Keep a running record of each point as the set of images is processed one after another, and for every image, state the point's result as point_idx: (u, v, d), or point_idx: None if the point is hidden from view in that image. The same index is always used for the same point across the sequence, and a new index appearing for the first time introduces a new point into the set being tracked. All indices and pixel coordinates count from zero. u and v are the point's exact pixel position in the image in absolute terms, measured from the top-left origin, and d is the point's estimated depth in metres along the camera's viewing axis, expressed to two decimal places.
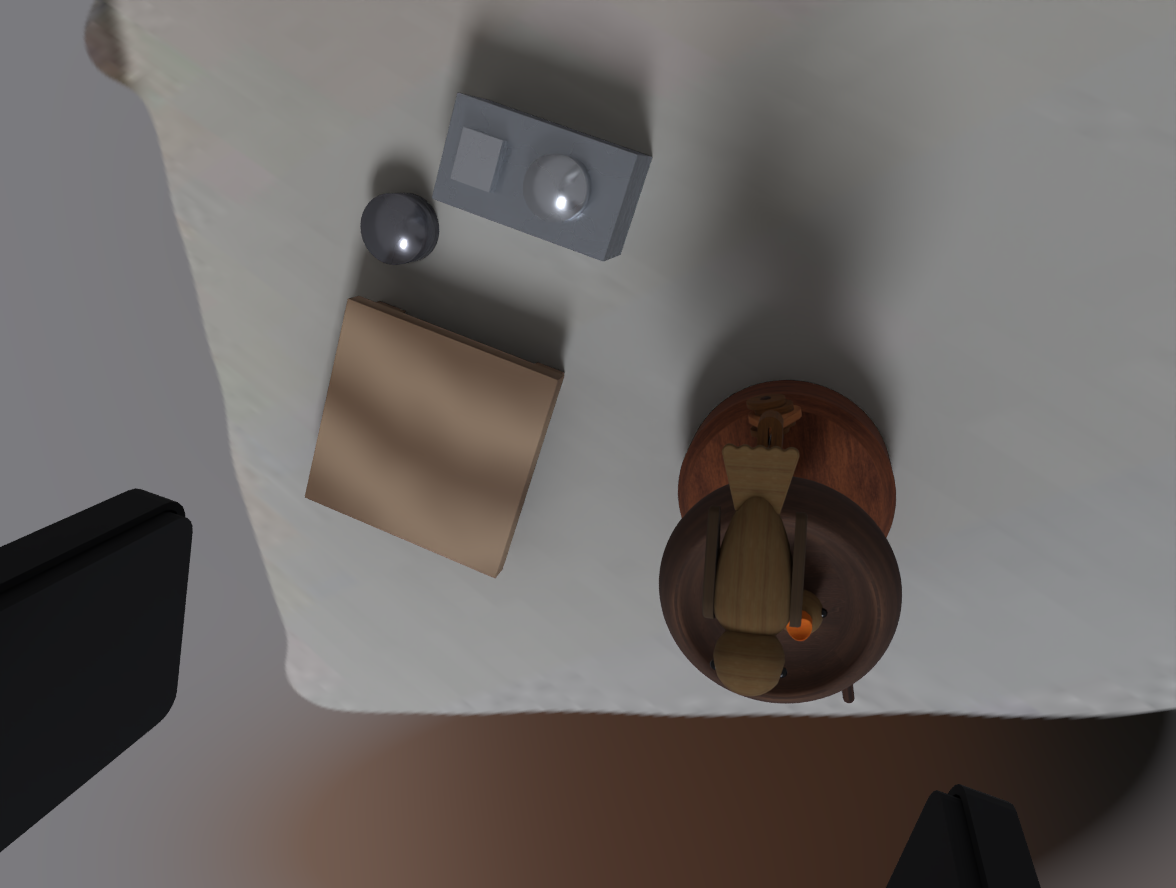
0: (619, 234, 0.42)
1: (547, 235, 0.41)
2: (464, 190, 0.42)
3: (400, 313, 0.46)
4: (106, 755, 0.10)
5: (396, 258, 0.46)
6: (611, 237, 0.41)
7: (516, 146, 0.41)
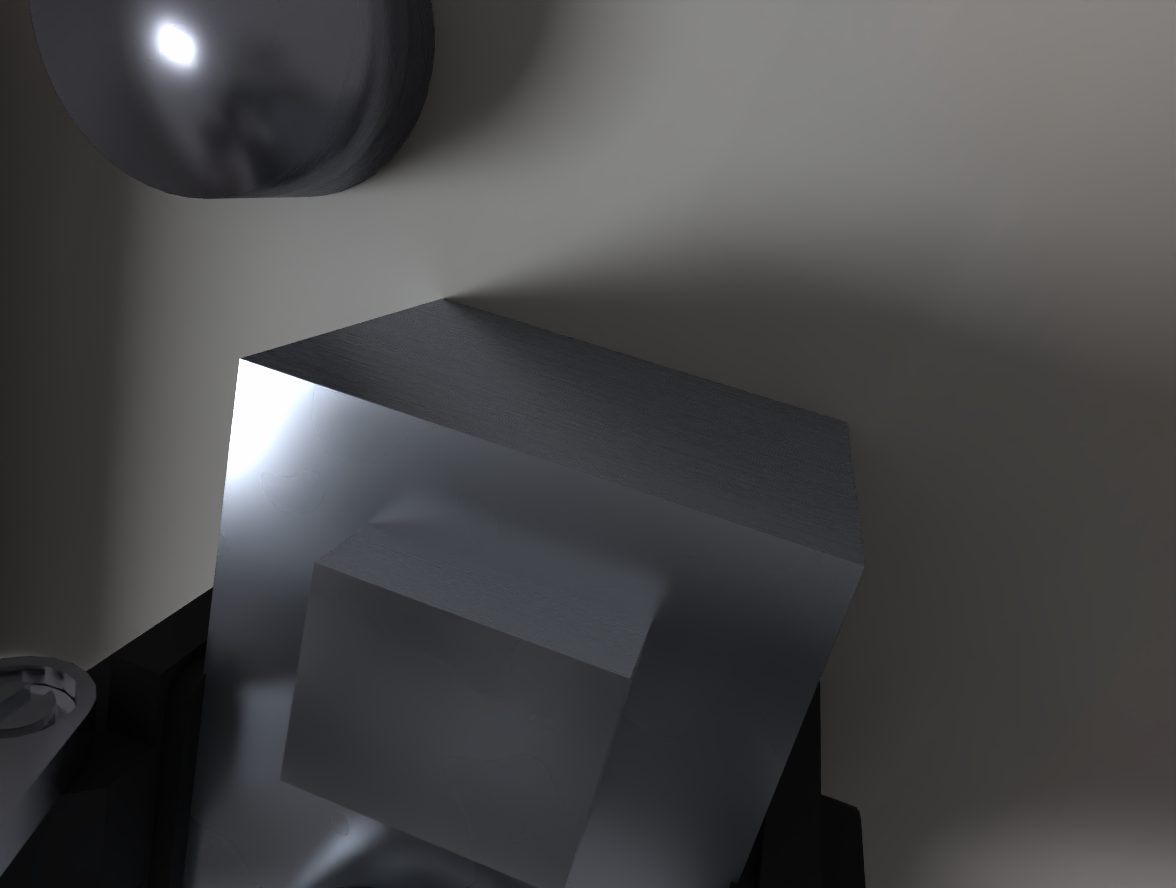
0: None
1: None
2: (312, 559, 0.07)
3: None
4: None
5: (64, 41, 0.09)
6: None
7: None
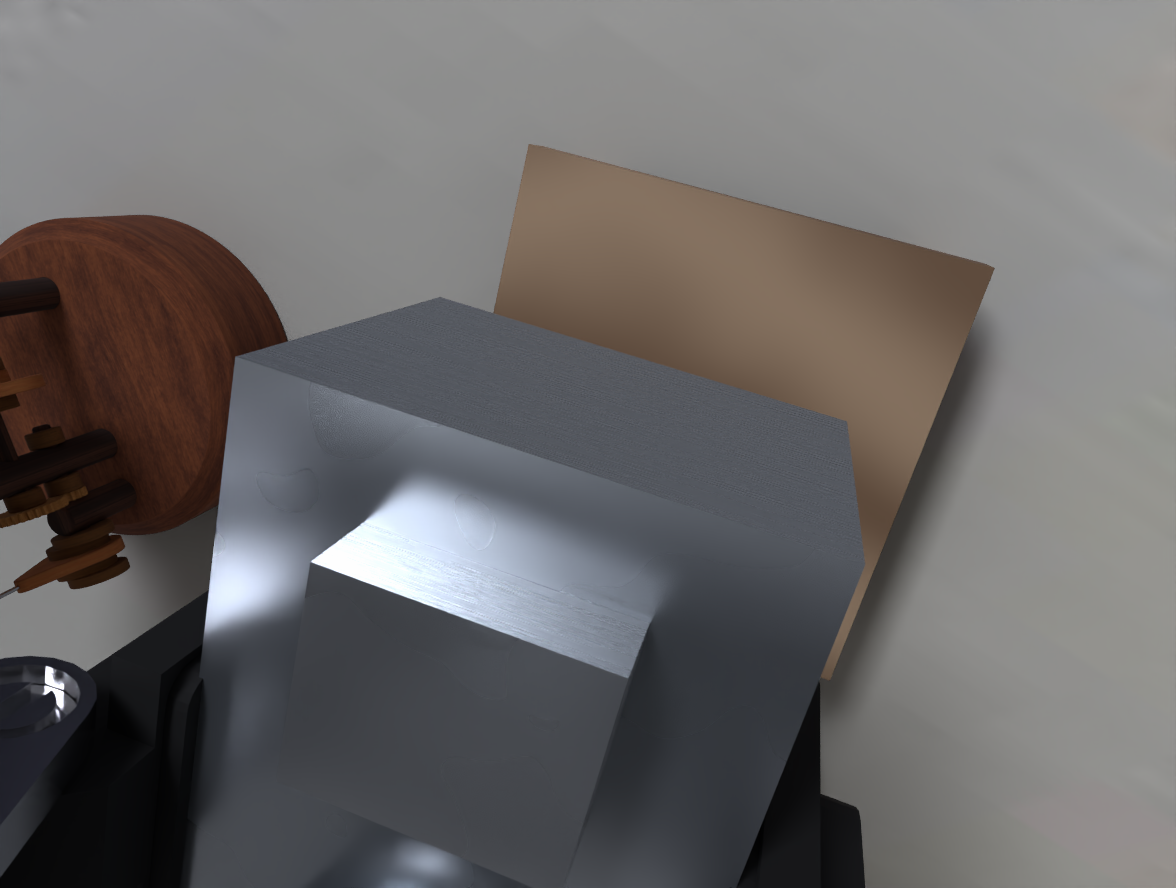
0: None
1: None
2: (309, 559, 0.07)
3: None
4: None
5: None
6: None
7: None
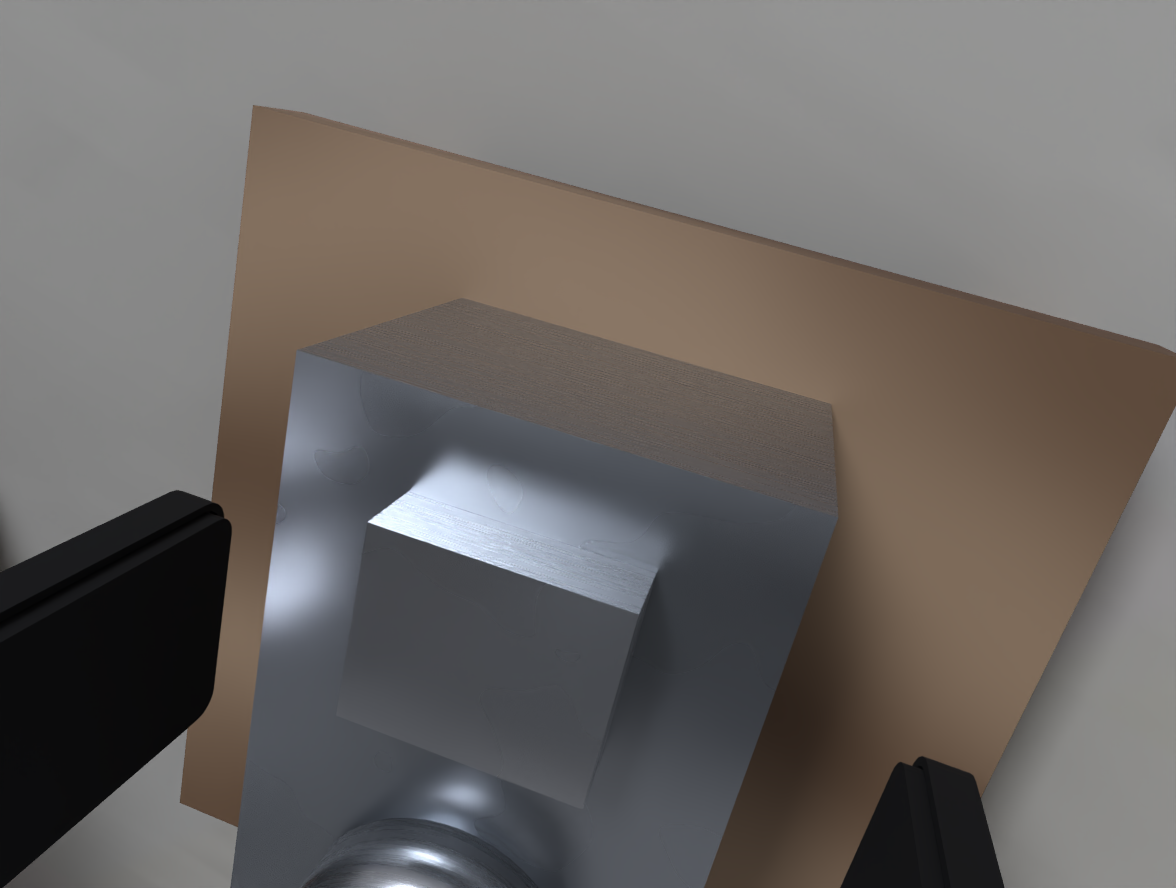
0: None
1: (253, 862, 0.10)
2: (360, 523, 0.08)
3: None
4: (148, 752, 0.10)
5: None
6: None
7: None
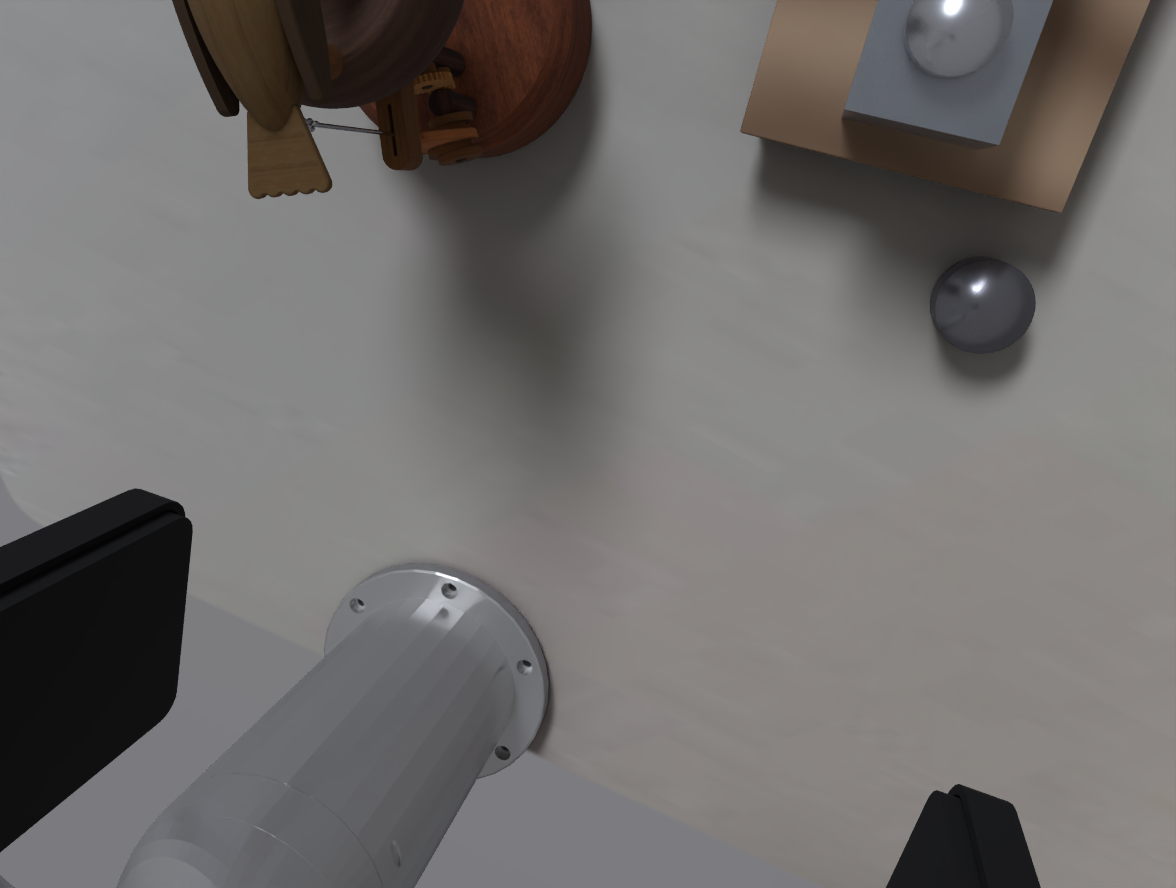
0: (877, 121, 0.30)
1: (882, 14, 0.28)
2: None
3: (982, 193, 0.33)
4: (106, 755, 0.10)
5: (982, 270, 0.34)
6: (878, 117, 0.29)
7: None
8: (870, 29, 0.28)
